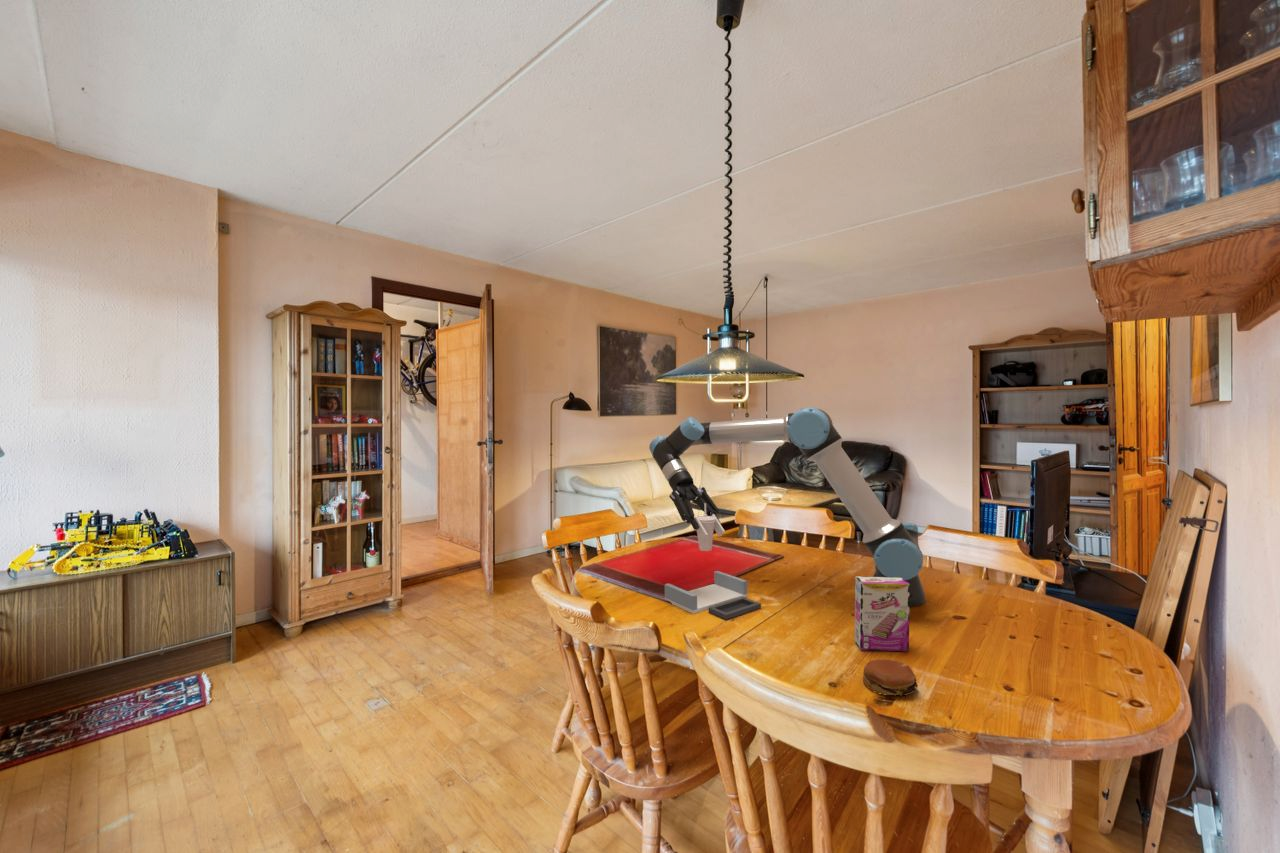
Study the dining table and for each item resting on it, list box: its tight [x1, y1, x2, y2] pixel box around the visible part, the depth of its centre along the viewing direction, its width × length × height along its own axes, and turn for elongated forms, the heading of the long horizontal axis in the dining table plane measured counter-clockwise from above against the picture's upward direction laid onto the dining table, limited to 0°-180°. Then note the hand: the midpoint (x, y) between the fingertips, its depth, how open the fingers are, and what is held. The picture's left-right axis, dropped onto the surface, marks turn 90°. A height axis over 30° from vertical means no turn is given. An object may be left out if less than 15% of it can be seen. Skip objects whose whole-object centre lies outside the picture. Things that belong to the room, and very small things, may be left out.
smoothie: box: [696, 503, 715, 552], centre depth 155 cm, size 6×6×14 cm
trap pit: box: [708, 597, 762, 621], centre depth 145 cm, size 7×14×2 cm, turn 125°
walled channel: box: [664, 570, 748, 615], centre depth 155 cm, size 13×22×5 cm, turn 125°
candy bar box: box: [854, 575, 910, 653], centre depth 121 cm, size 11×5×16 cm, turn 84°
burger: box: [862, 658, 919, 697], centre depth 103 cm, size 10×9×5 cm
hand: (713, 535), depth 152 cm, fingers closed on smoothie, 6 cm apart
